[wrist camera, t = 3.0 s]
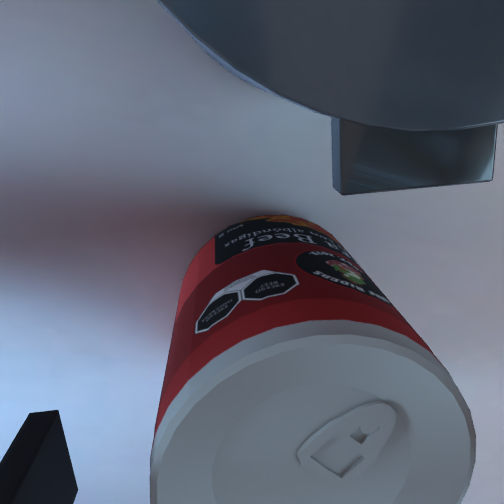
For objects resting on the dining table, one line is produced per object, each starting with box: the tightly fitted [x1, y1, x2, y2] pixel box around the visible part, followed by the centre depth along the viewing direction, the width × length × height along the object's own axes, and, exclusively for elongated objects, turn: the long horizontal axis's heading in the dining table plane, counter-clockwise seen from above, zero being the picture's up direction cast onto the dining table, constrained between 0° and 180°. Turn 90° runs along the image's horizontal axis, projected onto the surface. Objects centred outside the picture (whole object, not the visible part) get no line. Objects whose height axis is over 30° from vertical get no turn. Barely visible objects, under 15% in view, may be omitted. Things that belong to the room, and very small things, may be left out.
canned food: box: [150, 215, 476, 504], centre depth 16 cm, size 8×8×11 cm
